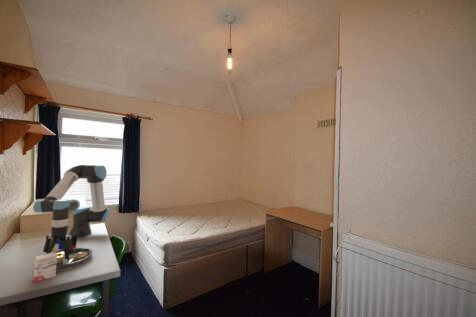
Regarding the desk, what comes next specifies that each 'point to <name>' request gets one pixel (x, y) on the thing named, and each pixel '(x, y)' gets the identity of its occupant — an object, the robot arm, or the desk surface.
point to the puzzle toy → (74, 240)
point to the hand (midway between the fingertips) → (57, 264)
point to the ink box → (45, 266)
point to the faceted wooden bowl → (60, 258)
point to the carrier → (75, 259)
